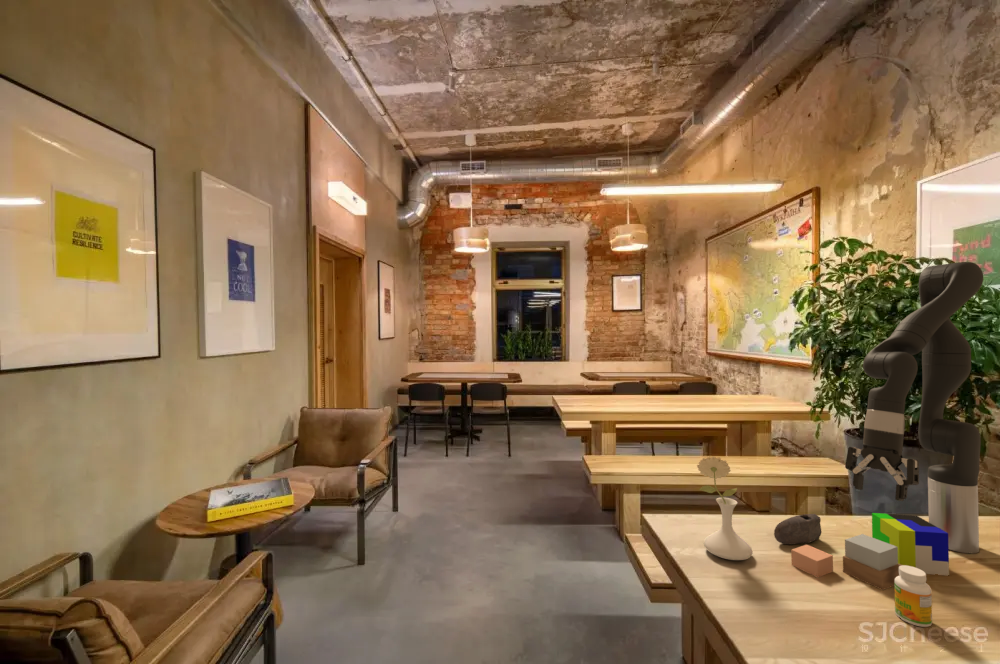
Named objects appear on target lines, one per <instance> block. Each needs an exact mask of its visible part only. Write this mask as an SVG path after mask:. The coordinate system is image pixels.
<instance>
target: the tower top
mask: <svg viewBox="0 0 1000 664" xmlns="http://www.w3.org/2000/svg"><path fill="white" fill-rule="evenodd" d="M844 556H846V557H848V558H851V559H853V560H855V561H858V562H860V563H862V564H865V565H867V566H870V567H872V568H874V569H877V570H879V571H881V570H884V569H886V568H889V567H891V566H894V565H897V564H898V547H897V546H894V545H891V544H888V543H886V542H883V541H880V540H878V539H875V538H872V536H869V535H866V534H864V533H861V534H858V535H854V536H852V537H849V538H845V539H844Z"/></svg>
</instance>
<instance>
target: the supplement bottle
mask: <svg viewBox="0 0 1000 664" xmlns="http://www.w3.org/2000/svg"><path fill="white" fill-rule="evenodd" d="M899 575H900V576H897V577H896V578H895V582H894V584H895V585H894V612H895V615H896V616H897V617H898V618H899V617H900V618H901V619H900V618H899V619H900V620H903V621H904V622H906V623H907V624H909V625H914V626H917V627H922V628H928V627H931V626H932V624H933V613H932V612H933V607H932V606H933V604H932V603H933V601H932V599H933V598H932V589H931V586H930V585H929V584H928V583H926V582H927V574H926V573H925V572H924V571H922V570H920V569H918V568H915V567H912V566H906V565H902V566H899Z"/></svg>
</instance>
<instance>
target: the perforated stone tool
mask: <svg viewBox="0 0 1000 664" xmlns="http://www.w3.org/2000/svg"><path fill="white" fill-rule="evenodd" d="M821 526H822V525H821V517H820V516H819V515H817V514H816V513H808V514H807V513H805V514H798V515H794V516H791V517H788V518H786V519H784V520H781V521H779V523H778V524H776V526H775V527H774V531H773V535H774V538H775V540H776V541H777V542H778V543H780V544H784V545H801V544H808V543H812V542H814V541H819V540H820V537H821V535H822V533H823V532H822V527H821Z"/></svg>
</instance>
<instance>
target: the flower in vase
mask: <svg viewBox="0 0 1000 664" xmlns="http://www.w3.org/2000/svg"><path fill="white" fill-rule="evenodd" d="M696 468H698V469H697V470H698V471H699V473H700V474H701V475H703V476H704V477H708V478H709V479H714V481H713V482H714V487H713V486H711V485H709V484H708V485H707V484H705V485H703V486H701V487H700V488H699V491H702V492H704V493H705V492H706V493H709V494H713V493H715V492H717V493H718V494H719V496H720V497H717V498H715V501H716V502H717V504H718V506H719V508H720V511H721V520H722V522H721V527H720V528H719V529H718V530H716V531H714V532H712V533H710V534H709V535H707V536H706V537H705V538H704V540H703V546H704V548H705V549H706V550H707V551H708V552H709V553H711V554H712V555H714V556H716V557H719V558H722V559H725V560H729V561H745V560H747V559H749V558H750V557H752V556H753V554H754V553H753V549H752V546H751V545H750V544H749V543H748V542H747V541H746V540H745V539H744V538H743V537H741V535H739V534H738V533H737V532H736V531H735V530H734V529H733V522H732V521H733V512H734V509H735V507H736V506H737V505H738V501H737V500H735V499H733V498H729V497H731V496H733V495H734V494H735V493H736V492H737V490H738V487H736V488H732V489H730V488H729V489H726V490H724V492H723V493H721V492H720V491H719V490H718V487H717V482H716V481H717V480H716V479H721V478H726V477H727V476H728V475H729V474H730V473H731V472H732V470H731V467H730V466H729V463H728V462H727V460H724V459H722V458H721V457H716V456H712V457H711V456H709V455H708V456H707V457H703V458H702V459H700V460H699V462H698V464H697V465H696Z"/></svg>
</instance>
